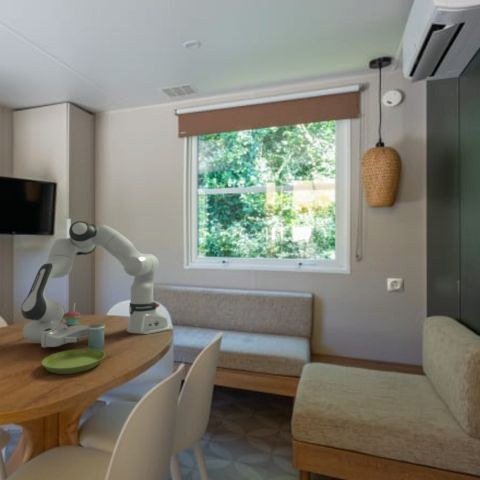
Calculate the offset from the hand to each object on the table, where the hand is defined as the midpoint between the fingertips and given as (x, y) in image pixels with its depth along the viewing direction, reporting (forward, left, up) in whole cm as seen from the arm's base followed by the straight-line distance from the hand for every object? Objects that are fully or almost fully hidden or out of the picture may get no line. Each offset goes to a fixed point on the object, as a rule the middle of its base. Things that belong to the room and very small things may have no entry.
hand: (85, 336), depth 136 cm
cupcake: (+2, -48, -6) cm, 48 cm away
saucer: (+5, +17, -6) cm, 19 cm away
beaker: (-4, +3, -5) cm, 7 cm away
